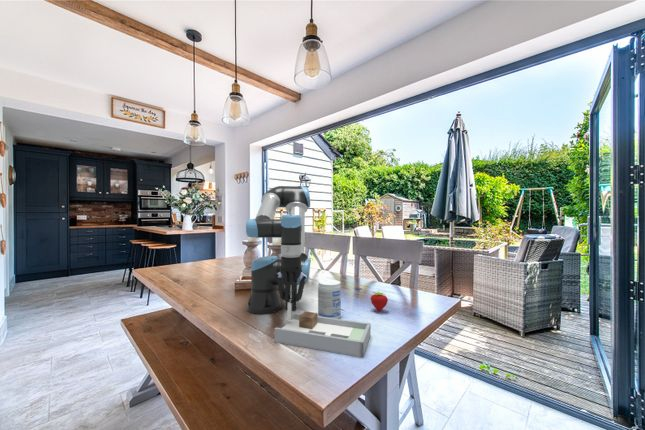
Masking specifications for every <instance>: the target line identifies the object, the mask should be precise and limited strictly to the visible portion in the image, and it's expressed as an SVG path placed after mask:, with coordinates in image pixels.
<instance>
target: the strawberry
mask: <svg viewBox="0 0 645 430" xmlns="http://www.w3.org/2000/svg"><path fill="white" fill-rule="evenodd" d="M372 293H373V294H372V295H371V296H370V302H371V304H372V306H373V307H374V308H375V310H376V311H377V312H379V313H380V312H382V310H383V309H384V308H385V307H386V305H387V304H388V302H389V300H388V297H387V296H386V294H383V292H380V291H377V292H372Z"/></svg>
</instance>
